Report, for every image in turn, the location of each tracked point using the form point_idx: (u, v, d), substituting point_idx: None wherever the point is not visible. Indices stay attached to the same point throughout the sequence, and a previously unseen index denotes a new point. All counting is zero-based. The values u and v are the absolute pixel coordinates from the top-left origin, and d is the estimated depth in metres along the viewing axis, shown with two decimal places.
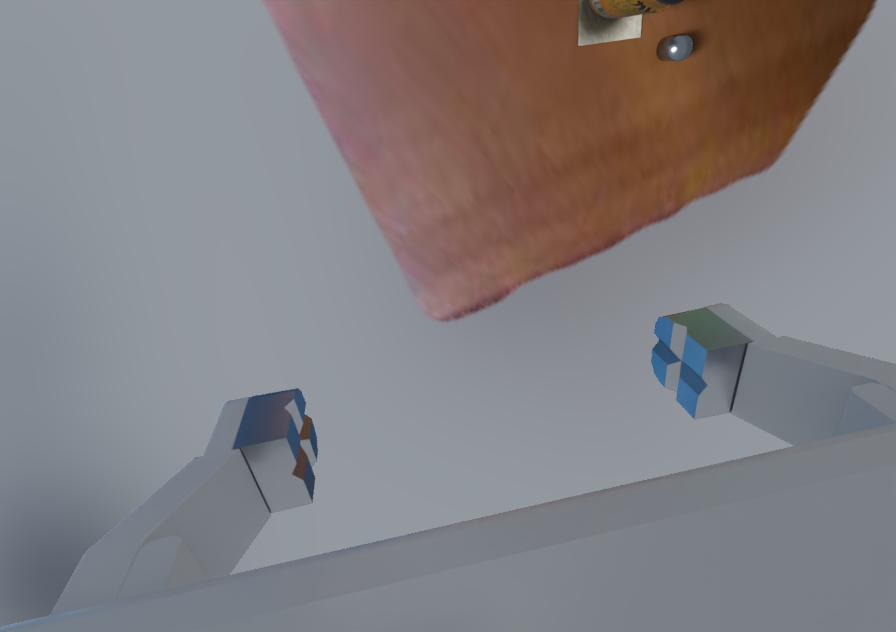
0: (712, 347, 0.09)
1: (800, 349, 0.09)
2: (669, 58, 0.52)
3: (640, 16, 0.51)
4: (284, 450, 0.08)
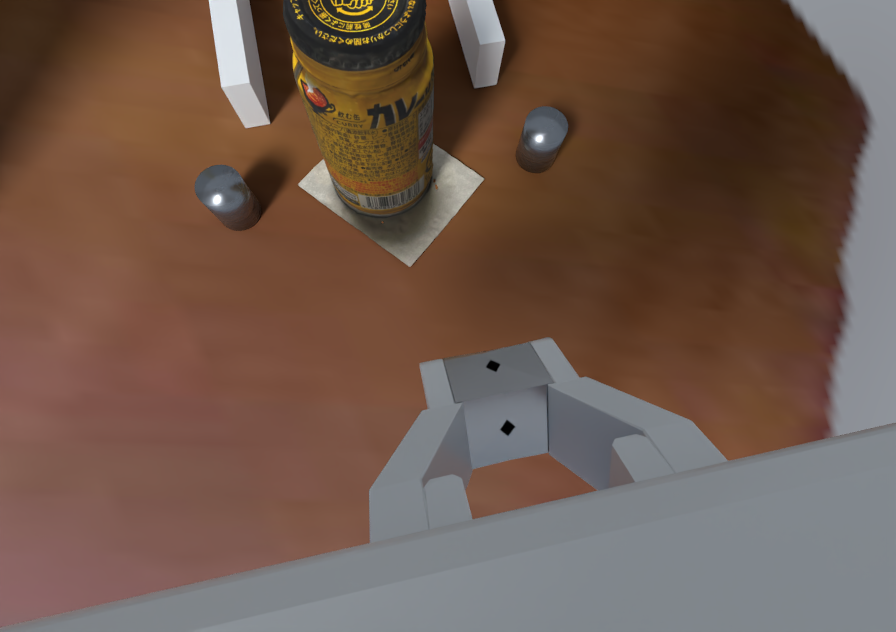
0: (514, 388, 0.09)
1: (591, 393, 0.08)
2: (547, 153, 0.27)
3: (456, 162, 0.29)
4: (499, 405, 0.09)
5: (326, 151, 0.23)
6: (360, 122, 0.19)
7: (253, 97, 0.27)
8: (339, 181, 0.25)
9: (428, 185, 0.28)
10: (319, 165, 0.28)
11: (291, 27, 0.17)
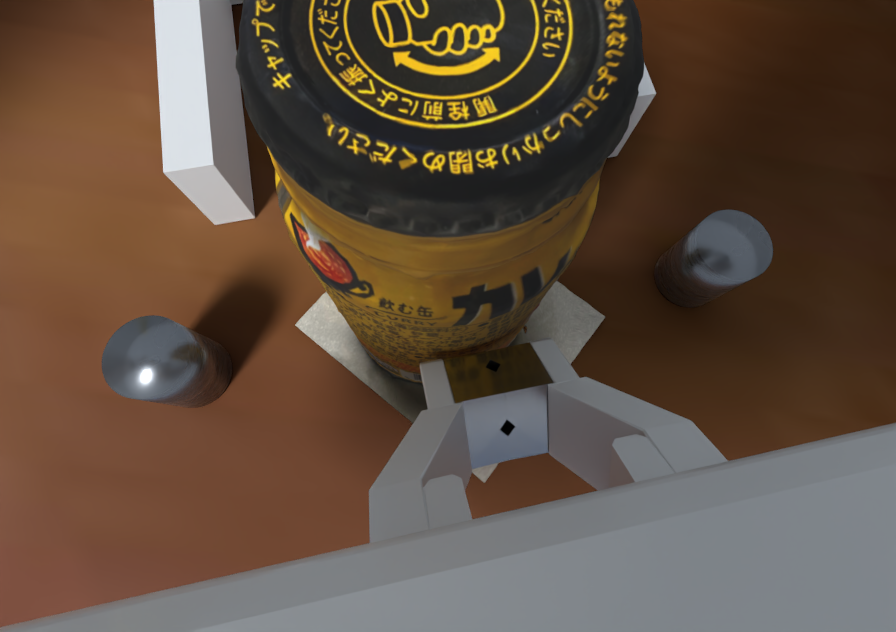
0: (513, 388, 0.09)
1: (591, 393, 0.08)
2: (729, 288, 0.15)
3: (558, 288, 0.17)
4: (499, 405, 0.09)
5: (345, 318, 0.11)
6: (431, 320, 0.08)
7: (222, 184, 0.15)
8: (367, 347, 0.14)
9: None
10: None
11: (256, 110, 0.06)
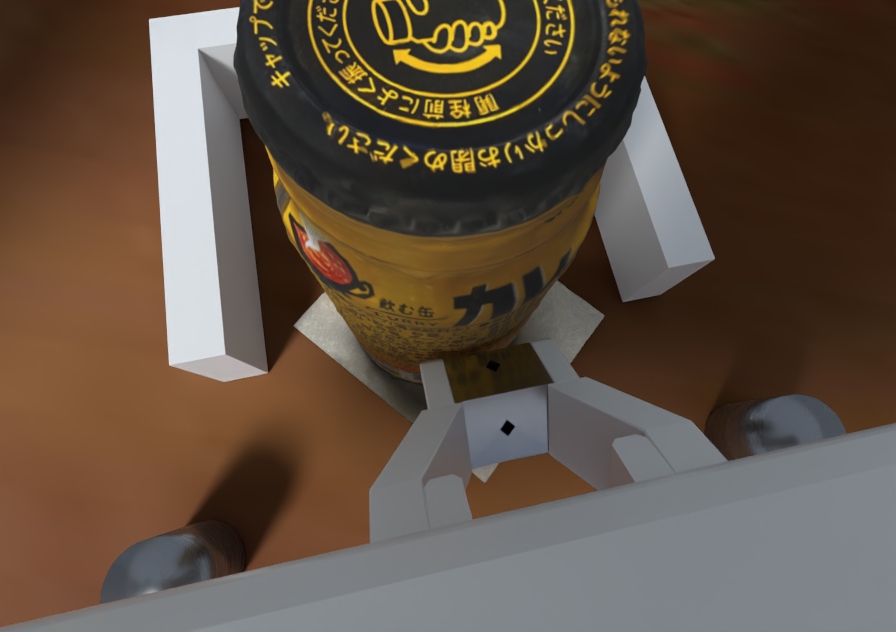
0: (514, 388, 0.09)
1: (591, 392, 0.08)
2: None
3: (557, 287, 0.17)
4: (499, 405, 0.09)
5: (345, 319, 0.11)
6: (432, 320, 0.08)
7: (233, 362, 0.14)
8: (366, 347, 0.14)
9: None
10: None
11: (254, 109, 0.05)
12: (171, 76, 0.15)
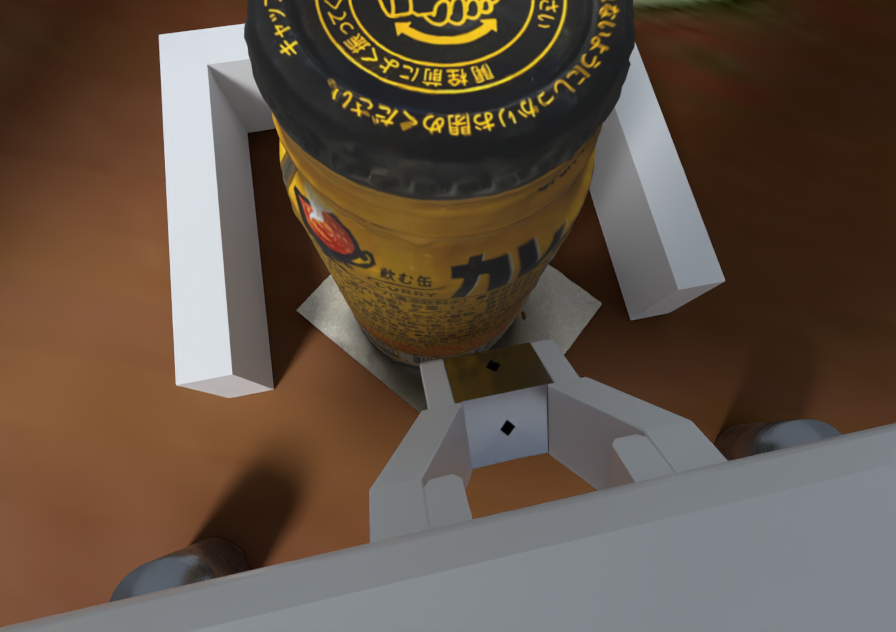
0: (514, 388, 0.09)
1: (591, 392, 0.08)
2: None
3: (556, 275, 0.18)
4: (499, 405, 0.09)
5: (347, 297, 0.12)
6: (430, 290, 0.08)
7: (240, 381, 0.14)
8: (367, 329, 0.14)
9: None
10: (332, 276, 0.17)
11: (263, 76, 0.06)
12: (180, 92, 0.15)
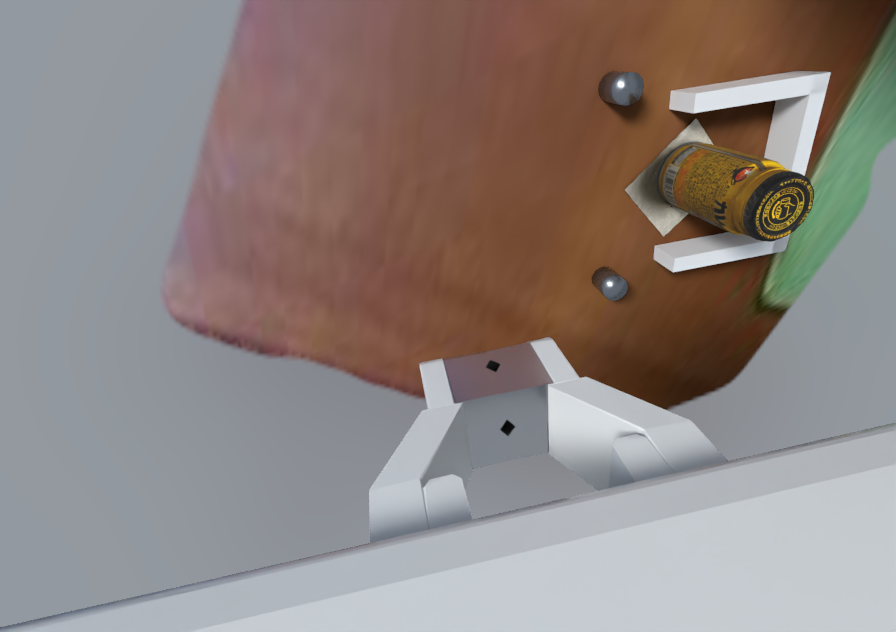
0: (514, 388, 0.09)
1: (591, 392, 0.08)
2: (600, 287, 0.47)
3: (678, 220, 0.47)
4: (499, 405, 0.09)
5: (711, 160, 0.39)
6: (720, 195, 0.37)
7: (685, 109, 0.40)
8: (690, 157, 0.41)
9: (670, 203, 0.46)
10: (704, 133, 0.43)
11: (778, 178, 0.34)
12: (801, 84, 0.39)
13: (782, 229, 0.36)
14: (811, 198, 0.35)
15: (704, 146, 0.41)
